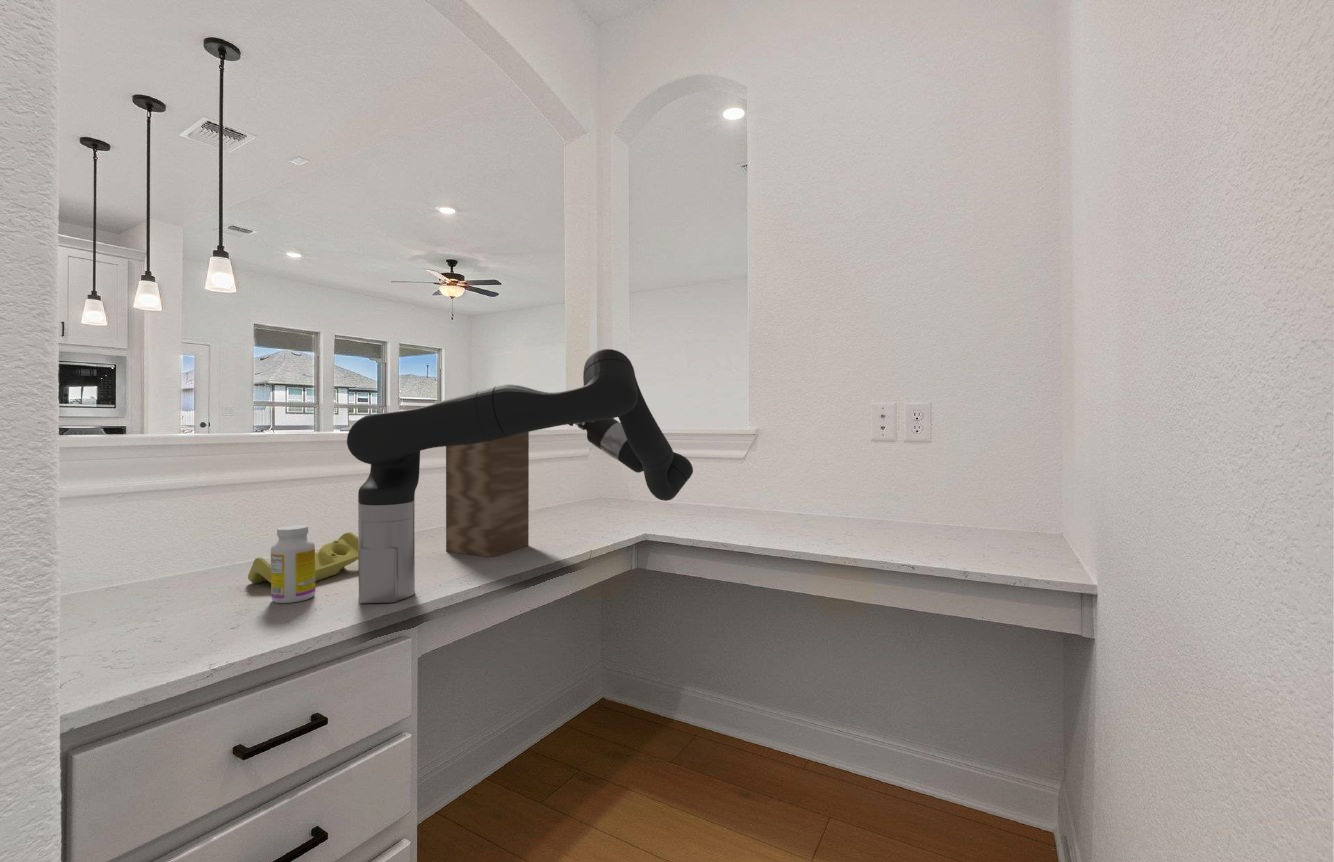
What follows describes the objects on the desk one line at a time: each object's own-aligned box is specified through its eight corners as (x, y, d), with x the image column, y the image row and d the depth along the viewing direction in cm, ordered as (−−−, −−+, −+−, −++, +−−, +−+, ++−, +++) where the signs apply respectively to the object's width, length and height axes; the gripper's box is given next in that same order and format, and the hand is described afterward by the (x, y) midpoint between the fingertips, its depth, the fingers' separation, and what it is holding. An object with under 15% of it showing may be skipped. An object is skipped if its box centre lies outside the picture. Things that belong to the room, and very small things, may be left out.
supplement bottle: (319, 591, 107) (318, 523, 107) (310, 602, 101) (310, 529, 101) (277, 595, 105) (276, 525, 105) (265, 606, 99) (265, 531, 98)
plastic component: (285, 580, 107) (252, 553, 110) (276, 612, 108) (244, 584, 111) (376, 550, 125) (345, 527, 128) (367, 578, 127) (337, 555, 130)
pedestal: (528, 545, 148) (528, 428, 147) (491, 557, 135) (491, 429, 134) (485, 540, 153) (485, 428, 153) (446, 551, 140) (445, 428, 140)
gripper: (589, 453, 124) (532, 413, 130) (619, 450, 137) (566, 414, 143) (604, 423, 123) (546, 384, 128) (633, 423, 136) (579, 387, 141)
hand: (557, 400), depth 136 cm, fingers closed on hammer, 3 cm apart
